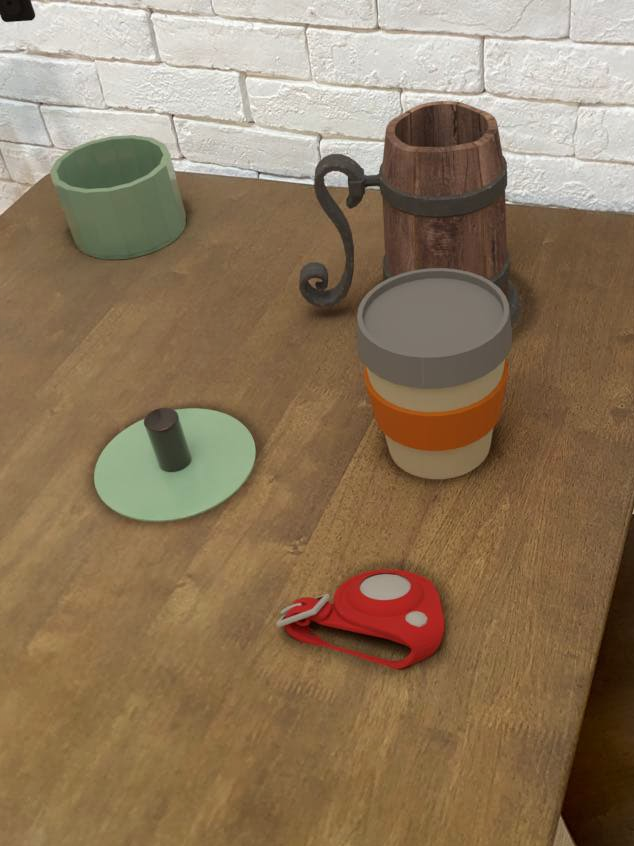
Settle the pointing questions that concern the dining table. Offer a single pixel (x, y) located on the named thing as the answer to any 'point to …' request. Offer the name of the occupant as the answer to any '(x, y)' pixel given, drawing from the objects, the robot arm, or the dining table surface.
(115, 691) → the dining table surface
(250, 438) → the lid
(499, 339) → the reusable coffee cup
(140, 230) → the pot
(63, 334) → the dining table surface
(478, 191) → the tankard
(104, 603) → the dining table surface
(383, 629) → the tracker holder
